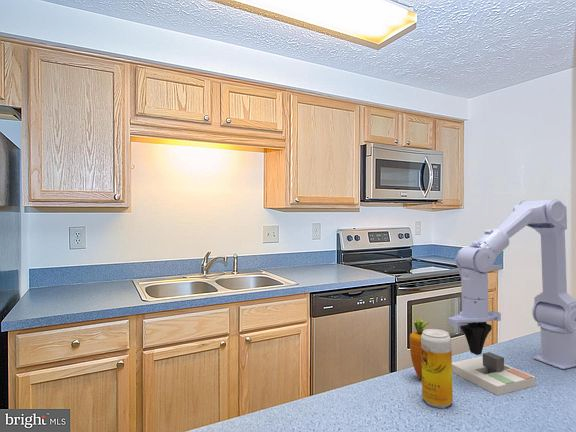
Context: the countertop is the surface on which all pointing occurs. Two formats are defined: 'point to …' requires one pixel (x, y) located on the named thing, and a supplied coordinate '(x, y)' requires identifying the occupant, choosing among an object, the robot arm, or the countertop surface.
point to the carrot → (417, 346)
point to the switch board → (493, 376)
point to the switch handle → (493, 362)
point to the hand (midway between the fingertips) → (475, 353)
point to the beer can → (436, 368)
